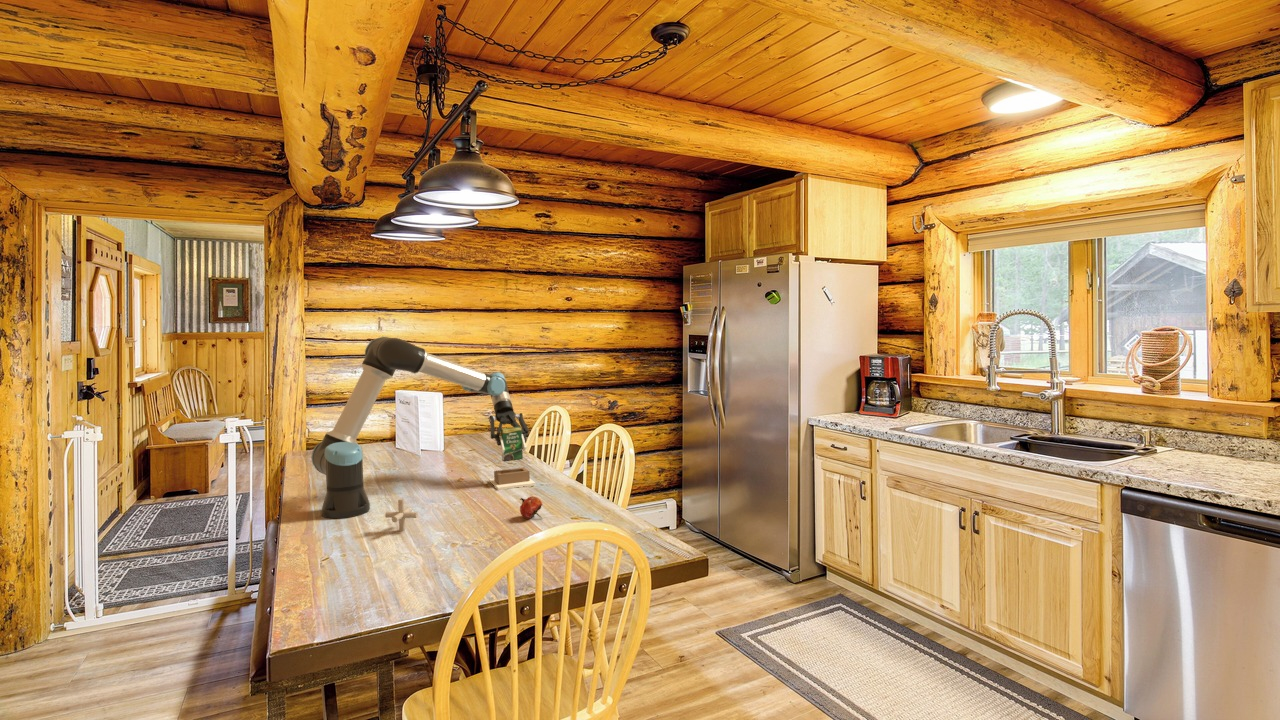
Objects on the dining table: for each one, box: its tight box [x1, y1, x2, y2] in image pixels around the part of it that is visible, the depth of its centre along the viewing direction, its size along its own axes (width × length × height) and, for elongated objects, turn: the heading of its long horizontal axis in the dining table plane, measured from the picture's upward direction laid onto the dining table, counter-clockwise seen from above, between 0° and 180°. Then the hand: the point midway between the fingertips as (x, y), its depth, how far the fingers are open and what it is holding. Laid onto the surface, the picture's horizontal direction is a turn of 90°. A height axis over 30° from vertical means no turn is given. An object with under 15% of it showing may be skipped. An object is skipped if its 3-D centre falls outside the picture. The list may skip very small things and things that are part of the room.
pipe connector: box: [384, 497, 419, 532], centre depth 204 cm, size 10×10×10 cm
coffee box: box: [500, 426, 524, 462], centre depth 259 cm, size 8×3×13 cm, turn 118°
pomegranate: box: [519, 495, 544, 520], centre depth 215 cm, size 7×7×10 cm
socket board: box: [488, 467, 537, 491], centre depth 260 cm, size 15×15×5 cm
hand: (514, 450), depth 256 cm, fingers closed on coffee box, 8 cm apart
